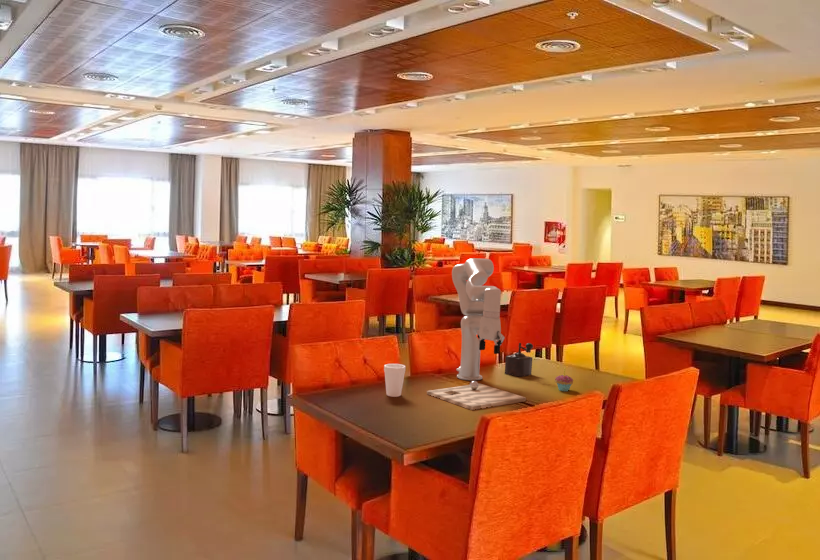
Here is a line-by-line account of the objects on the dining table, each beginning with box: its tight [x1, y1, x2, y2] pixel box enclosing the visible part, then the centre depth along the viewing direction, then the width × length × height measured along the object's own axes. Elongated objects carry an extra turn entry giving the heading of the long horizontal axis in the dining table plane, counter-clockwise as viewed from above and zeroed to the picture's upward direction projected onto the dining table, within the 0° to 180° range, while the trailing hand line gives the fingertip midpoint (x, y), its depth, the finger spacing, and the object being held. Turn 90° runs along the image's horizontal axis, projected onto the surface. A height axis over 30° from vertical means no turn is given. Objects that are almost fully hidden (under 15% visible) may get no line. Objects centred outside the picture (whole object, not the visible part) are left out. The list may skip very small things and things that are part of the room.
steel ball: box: [469, 380, 479, 390], centre depth 322 cm, size 4×4×4 cm
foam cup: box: [383, 363, 407, 398], centre depth 312 cm, size 10×9×13 cm
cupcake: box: [554, 366, 574, 392], centre depth 335 cm, size 9×8×12 cm
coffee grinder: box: [504, 342, 534, 378], centre depth 365 cm, size 16×11×18 cm
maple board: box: [426, 382, 527, 411], centre depth 314 cm, size 30×32×2 cm
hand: (489, 351), depth 325 cm, fingers open, 9 cm apart
